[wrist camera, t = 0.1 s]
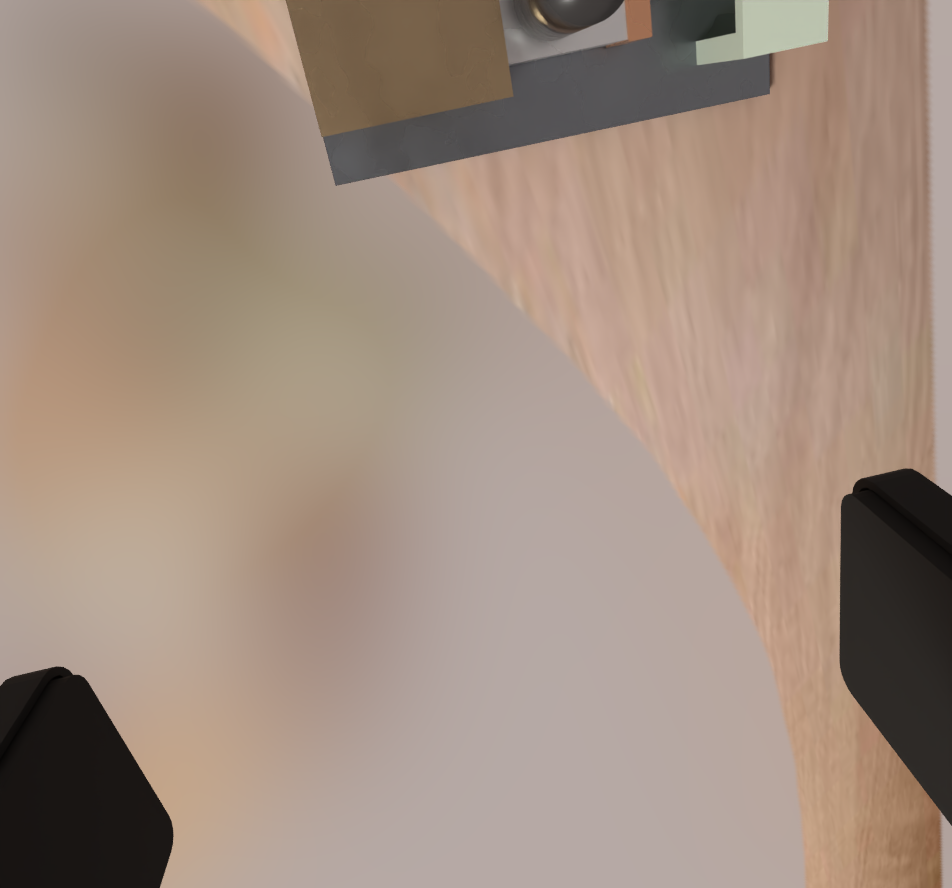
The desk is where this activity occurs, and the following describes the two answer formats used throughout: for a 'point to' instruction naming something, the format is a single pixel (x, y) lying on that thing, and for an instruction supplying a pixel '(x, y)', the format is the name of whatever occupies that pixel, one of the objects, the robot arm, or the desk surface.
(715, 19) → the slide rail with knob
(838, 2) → the desk surface
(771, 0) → the socket
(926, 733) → the robot arm
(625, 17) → the grey slider block
